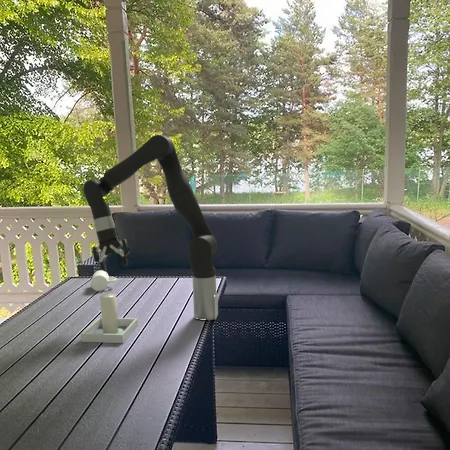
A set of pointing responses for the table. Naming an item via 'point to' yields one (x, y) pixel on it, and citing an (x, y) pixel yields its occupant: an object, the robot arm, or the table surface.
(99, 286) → the mug
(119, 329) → the pad
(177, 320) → the table surface
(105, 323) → the canister
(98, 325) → the square picture frame
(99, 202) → the robot arm
